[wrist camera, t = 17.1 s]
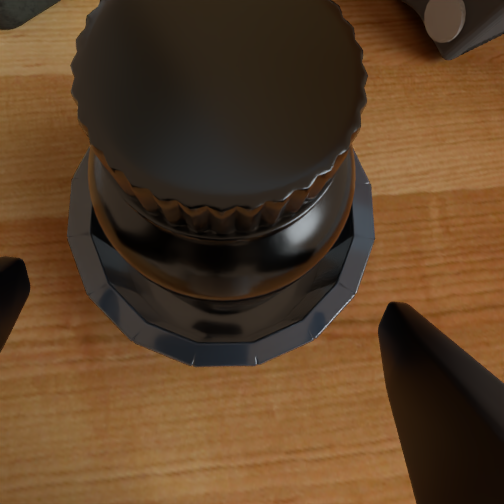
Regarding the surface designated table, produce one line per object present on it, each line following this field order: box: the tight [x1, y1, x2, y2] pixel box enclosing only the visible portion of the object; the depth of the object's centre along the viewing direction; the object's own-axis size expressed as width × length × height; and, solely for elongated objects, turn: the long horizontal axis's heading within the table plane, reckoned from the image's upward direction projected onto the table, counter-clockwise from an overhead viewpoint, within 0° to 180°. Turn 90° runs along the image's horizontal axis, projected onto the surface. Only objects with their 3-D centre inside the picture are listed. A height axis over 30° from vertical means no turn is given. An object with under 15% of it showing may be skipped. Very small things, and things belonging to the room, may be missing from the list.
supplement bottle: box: [70, 0, 368, 313], centre depth 12 cm, size 7×7×12 cm
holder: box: [67, 144, 375, 367], centre depth 16 cm, size 11×11×5 cm
